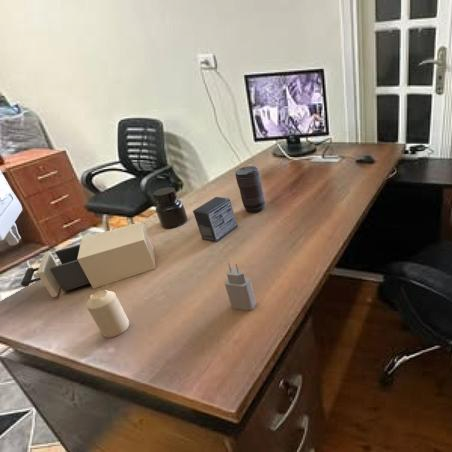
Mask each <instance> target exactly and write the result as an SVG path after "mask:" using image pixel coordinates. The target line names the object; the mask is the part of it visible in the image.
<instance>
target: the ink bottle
mask: <svg viewBox="0 0 452 452" xmlns="http://www.w3.org/2000/svg"><path fill="white" fill-rule="evenodd" d="M152 195H153V197H154V200H155V203H156V204H157V205H156V207H155V212H156V215H157V218H158V220H159V223H160V226H161V227H162V228H165V229H171V228H176V227H180V226H182V225H184V224H185V223H187V221H188V215H187V212H186V209H185V205H184V203H183V202H182V200H180V199H178V194H177V192H176V189H175V187H173V186H171V187H170V186H169V187H163V188H162V187H161V188H159V189H156V190H155V191H154V192H153V193H152Z"/></svg>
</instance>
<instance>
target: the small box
mask: <svg viewBox="0 0 452 452" xmlns="http://www.w3.org/2000/svg"><path fill="white" fill-rule="evenodd" d="M192 213H193V216H194V218H195V221H196V224H197V227H198V230H199V233H200V236H201V239H202V240H204V241H208V242H212V243H217V242H219V241H220V240H221V239H223V238H225V237H226V236H227V235H228V234H229V233H231V232H232V231H234V230H235V229H236V228H237V227H238V223H237V220H236V217H235V213H234V210H233V205H232V202H231V198H229V197H220V196H215V197H213V198H212V199H210V200H208V201H207V202H205V203H204V204H202V205H200V206H198V207H196V208H195V209H194V210H192Z"/></svg>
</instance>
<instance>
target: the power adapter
mask: <svg viewBox="0 0 452 452" xmlns="http://www.w3.org/2000/svg"><path fill="white" fill-rule="evenodd" d="M227 265H228V268H229V269H227V270H226V271H225V273H226V277H227V279H226V280H225V281H224V283H223V284H224V286H225V291H226V294H227V297H228V299H229V303H230V307H231V308H232V309H233V310H239V311H246V312H251V311H252V310H253V309H254V308H255V306H256V305H257V300H256V297H255V294H254V293H255V292H254V290H253V286H252V285H253V284H252V281H251V278H250V277H245V276H246V275H245V273H244V270H243V269H239V267H238V263H235V268H232V267H231V264H230V262H228V263H227Z"/></svg>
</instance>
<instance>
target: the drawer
mask: <svg viewBox="0 0 452 452" xmlns="http://www.w3.org/2000/svg"><path fill="white" fill-rule="evenodd" d="M80 244H81V243H80ZM80 244H76V245H72V246H69V247H66V248H62V249H58V250H55V251H54V253H55V254H56V257H57V258H58V260H59V261H60V263H61V264H58V262H57V261H56V258H55V257H54V255H53V254H52V252H51V251H50V250H48V251H45V252H44V253H43V256H42V259H41V261H40V263H39V266H38V267H35V268H33V267H28V268H27V269H26V271H25V273H24V276H23V278H22V279H21V282H20V285H21V287H23V288H27V287H29V286H30V284H32V283H35V282H38V281H41V283H42V284H43V286H44V287H45V289H46V291H47V292H48V294H49V295H50V297H51V298H56V297H58V295H59V292H60V289H61V291H62V292H67V291H70V290H73V289H76V288H80V287H82V286H86V285H88V284H90V282H89V280H88V278H87V276H86V274H85V273H84V271H83V269H82V267H81V265H80V263H79V262H78V260H77V258H78V253H79V249H80ZM35 272H36V275H37V276H38V277H36V278H33V276H34V274H35Z"/></svg>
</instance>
